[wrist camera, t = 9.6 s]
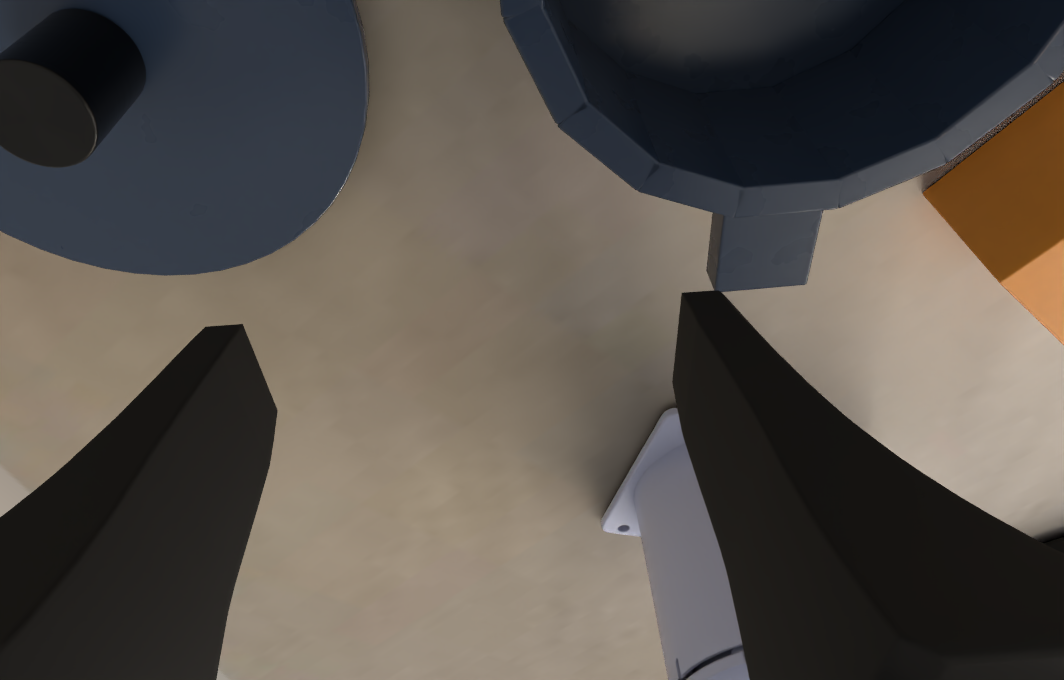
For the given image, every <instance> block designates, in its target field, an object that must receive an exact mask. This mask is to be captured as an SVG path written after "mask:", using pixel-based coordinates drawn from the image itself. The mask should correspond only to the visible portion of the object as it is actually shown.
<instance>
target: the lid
mask: <svg viewBox="0 0 1064 680" xmlns="http://www.w3.org/2000/svg"><path fill="white" fill-rule="evenodd" d="M368 103H369V61H368V55H367V48H366V42H365V35H364V28H363V25H362V21H361V18H360V14H359V11H358V7H357V4H356V0H0V231H2V232H4V233H5V234H7V235H9V236H12V237H14V238H16V239H18V240H21V241H23V242H25V243H27V244H30V245H32V246H34V247H37V248H39V249H41V250H44V251H47V252H50V253H53V254H56V255H59V256H61V257H64V258H67V259H70V260H73V261H77V262H81V263H85V264H89V265H93V266H97V267H101V268H105V269H111V270H117V271H123V272H129V273H136V274H151V275H192V274H200V273H207V272H214V271H221V270H225V269H228V268H232V267H236V266H240V265H243V264H247V263H249V262H252V261H254V260H257V259H259V258H262V257H264V256H266V255H269V254H271V253H273V252H275V251H276V250H278V249H280V248H282V247H283V246H285V245H287V244H288V243H290V242H292V241H294V240H295V239H296V238H297V237H299V236H300V235H301V234H302V233H304V232H305V231H306V230H307V229H309V228H310V227H311V226H312V225H314V224H315V222H316V221H317V220H318V219H319V218H320V217H321V216H322V215H323V214H324V213H325V212H326V210H327V209H328V208H329V207H330V206H331V205H332V203H333V202H334V200H335V199H336V197H337V196H338V194H339V193H340V191H341V190H342V188H343V187H344V185H345V183H346V181H347V179H348V177H349V175H350V172H351V170H352V168H353V166H354V164H355V161H356V159H357V155H358V152H359V148H360V145H361V141H362V137H363V134H364V130H365V126H366V119H367V111H368Z"/></svg>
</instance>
